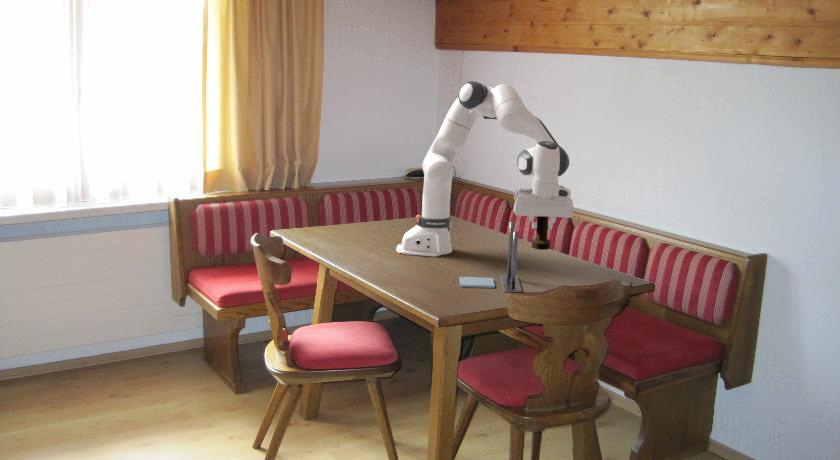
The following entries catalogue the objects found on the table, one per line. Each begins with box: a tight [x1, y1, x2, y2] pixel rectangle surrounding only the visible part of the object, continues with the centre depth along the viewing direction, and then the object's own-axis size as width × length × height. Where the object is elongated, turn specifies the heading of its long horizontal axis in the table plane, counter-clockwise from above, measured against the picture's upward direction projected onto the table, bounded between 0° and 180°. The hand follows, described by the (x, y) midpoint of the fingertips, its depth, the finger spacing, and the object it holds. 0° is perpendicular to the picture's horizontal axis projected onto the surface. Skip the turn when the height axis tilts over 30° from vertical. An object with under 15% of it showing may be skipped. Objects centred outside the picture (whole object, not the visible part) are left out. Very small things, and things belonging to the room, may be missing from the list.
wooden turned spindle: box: [531, 216, 552, 251], centre depth 298 cm, size 7×6×18 cm
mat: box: [458, 276, 496, 289], centre depth 303 cm, size 12×10×1 cm
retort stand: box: [499, 221, 523, 294], centre depth 301 cm, size 6×19×21 cm, turn 179°
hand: (542, 228), depth 298 cm, fingers closed on wooden turned spindle, 4 cm apart
